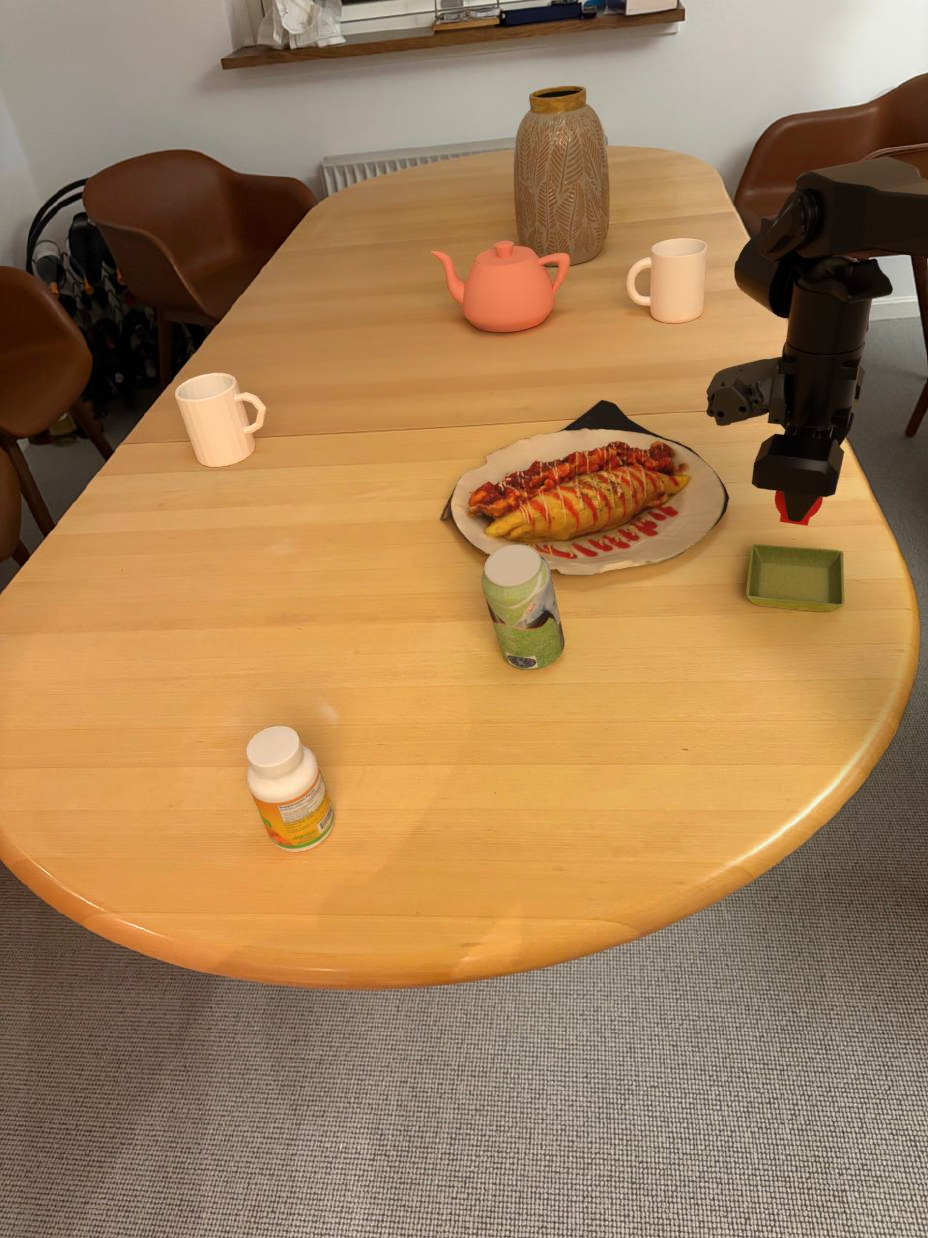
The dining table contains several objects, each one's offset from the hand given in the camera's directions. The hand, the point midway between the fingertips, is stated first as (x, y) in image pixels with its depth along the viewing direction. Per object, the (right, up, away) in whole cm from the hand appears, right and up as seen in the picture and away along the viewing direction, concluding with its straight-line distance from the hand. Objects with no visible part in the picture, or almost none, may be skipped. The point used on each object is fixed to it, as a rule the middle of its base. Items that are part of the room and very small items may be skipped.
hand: (798, 507), depth 79 cm
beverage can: (-24, -14, +4) cm, 28 cm away
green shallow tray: (+2, -7, +7) cm, 11 cm away
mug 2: (+2, +38, +61) cm, 72 cm away
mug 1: (-61, +13, +42) cm, 75 cm away
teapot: (-23, +39, +67) cm, 81 cm away
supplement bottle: (-43, -27, -8) cm, 51 cm away
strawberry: (0, -1, +1) cm, 1 cm away
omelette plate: (-17, +4, +24) cm, 30 cm away
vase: (-11, +59, +88) cm, 107 cm away
